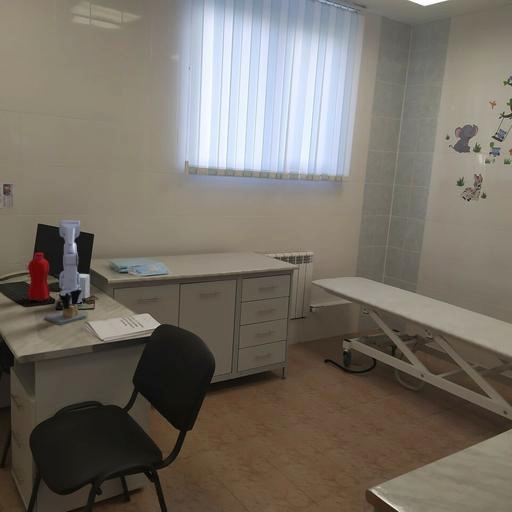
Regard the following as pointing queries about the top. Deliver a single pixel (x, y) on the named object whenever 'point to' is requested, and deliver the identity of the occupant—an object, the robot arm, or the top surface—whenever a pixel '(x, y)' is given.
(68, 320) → the flat gray board
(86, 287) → the small box
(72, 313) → the wooden cubby box
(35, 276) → the water bottle
